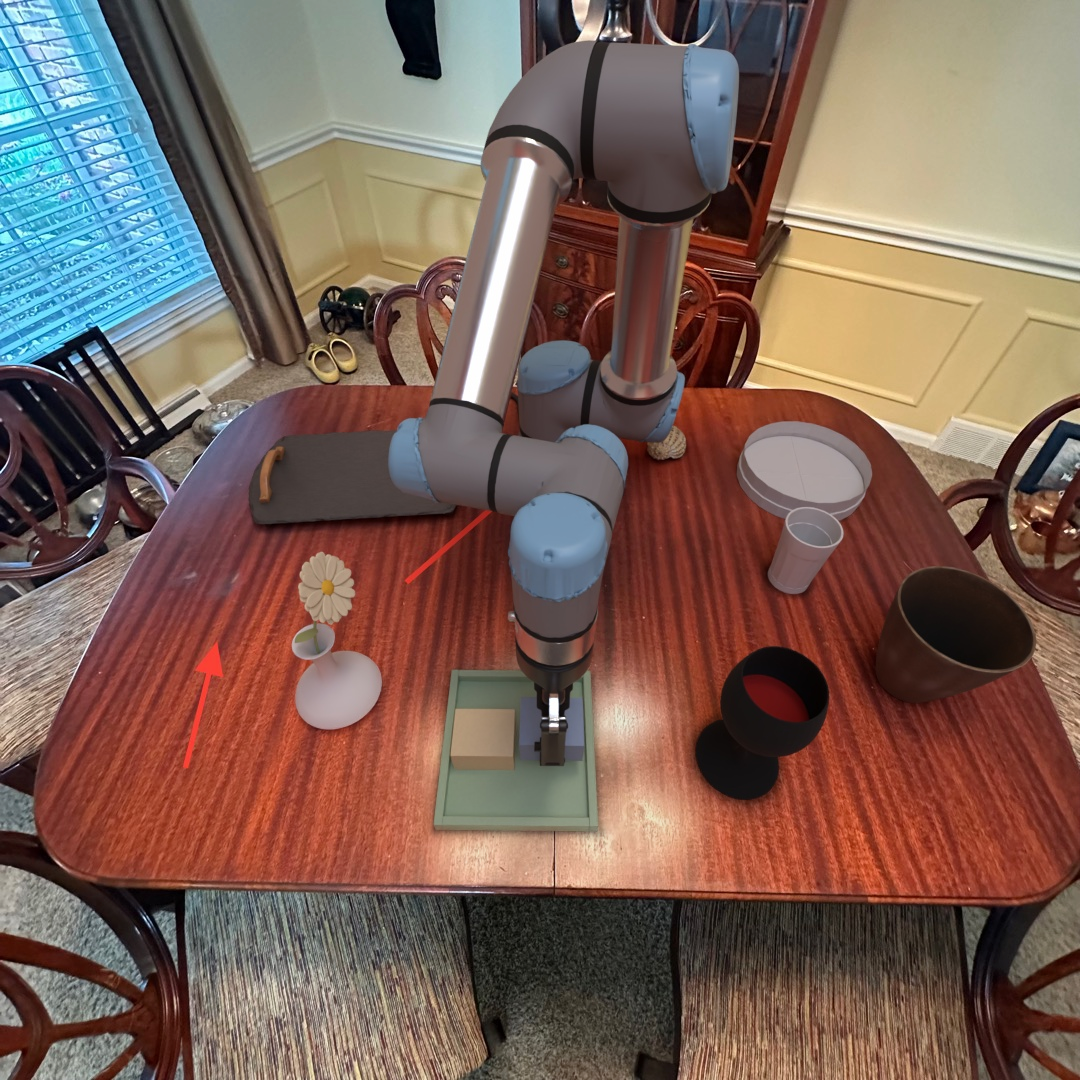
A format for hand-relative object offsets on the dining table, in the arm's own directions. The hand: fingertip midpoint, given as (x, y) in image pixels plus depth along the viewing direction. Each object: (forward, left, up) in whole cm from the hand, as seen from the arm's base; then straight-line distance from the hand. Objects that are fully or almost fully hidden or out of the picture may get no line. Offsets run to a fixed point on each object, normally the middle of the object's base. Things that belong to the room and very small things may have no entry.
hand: (551, 735), depth 74 cm
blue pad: (0, 0, 0) cm, 0 cm away
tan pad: (-5, -6, -3) cm, 9 cm away
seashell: (-33, +54, -4) cm, 63 cm away
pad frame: (-3, -3, -4) cm, 6 cm away
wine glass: (+15, +18, -4) cm, 24 cm away
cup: (+1, +47, -4) cm, 47 cm away
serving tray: (-60, +4, -4) cm, 60 cm away
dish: (-12, +67, -4) cm, 68 cm away
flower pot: (+22, +45, -4) cm, 50 cm away
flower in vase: (-24, -17, -4) cm, 29 cm away
